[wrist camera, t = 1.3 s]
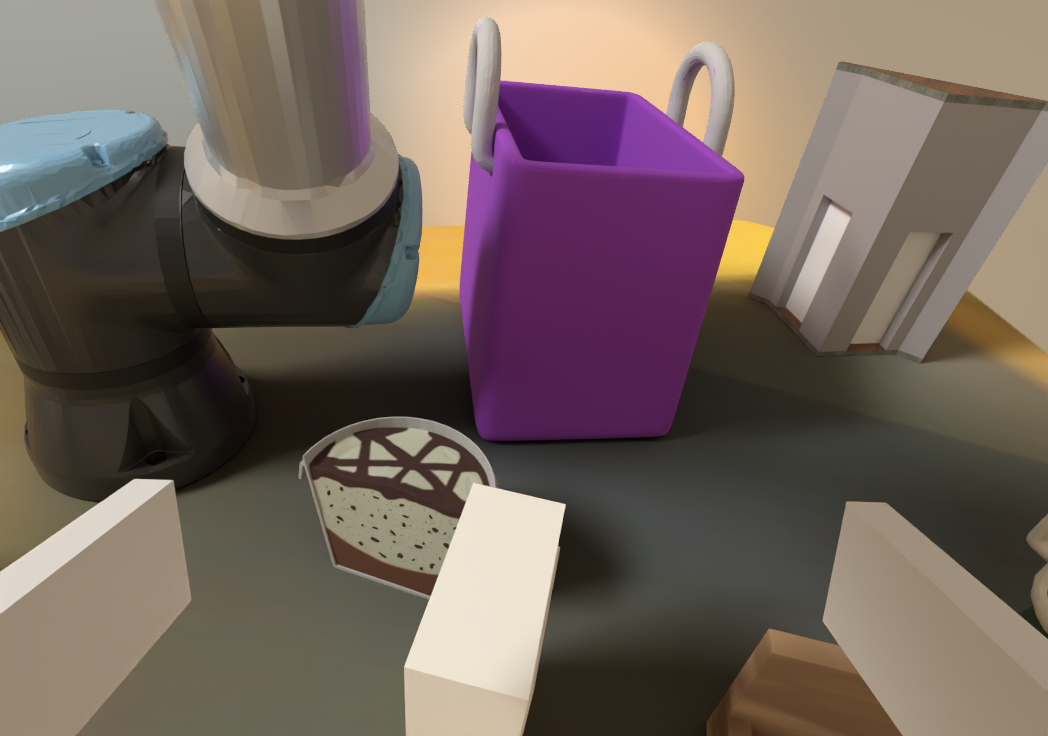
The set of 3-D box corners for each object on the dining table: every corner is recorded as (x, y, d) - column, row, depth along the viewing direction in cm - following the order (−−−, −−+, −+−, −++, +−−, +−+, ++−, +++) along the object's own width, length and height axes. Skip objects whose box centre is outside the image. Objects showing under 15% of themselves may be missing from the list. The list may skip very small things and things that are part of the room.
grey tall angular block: (921, 357, 69) (1080, 107, 52) (909, 394, 62) (1087, 121, 46) (752, 292, 78) (842, 61, 61) (726, 319, 71) (819, 67, 55)
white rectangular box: (455, 668, 34) (469, 481, 25) (526, 687, 34) (569, 505, 24) (405, 832, 28) (399, 665, 18) (493, 858, 27) (533, 701, 18)
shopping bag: (417, 300, 67) (418, -6, 49) (586, 286, 74) (639, 15, 57) (491, 476, 47) (536, 59, 29) (714, 432, 54) (860, 79, 36)
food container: (515, 543, 42) (531, 442, 36) (487, 619, 37) (500, 517, 31) (359, 493, 44) (350, 390, 38) (312, 560, 39) (294, 453, 33)
